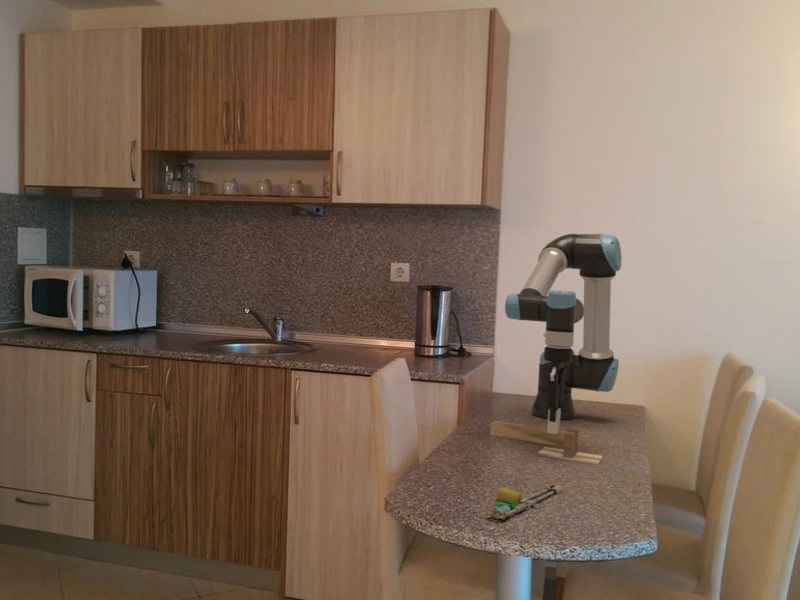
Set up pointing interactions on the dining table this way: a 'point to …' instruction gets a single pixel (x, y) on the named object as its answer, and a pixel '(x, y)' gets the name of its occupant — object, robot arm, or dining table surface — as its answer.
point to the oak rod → (526, 433)
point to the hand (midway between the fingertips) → (553, 432)
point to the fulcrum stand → (571, 450)
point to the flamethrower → (519, 501)
